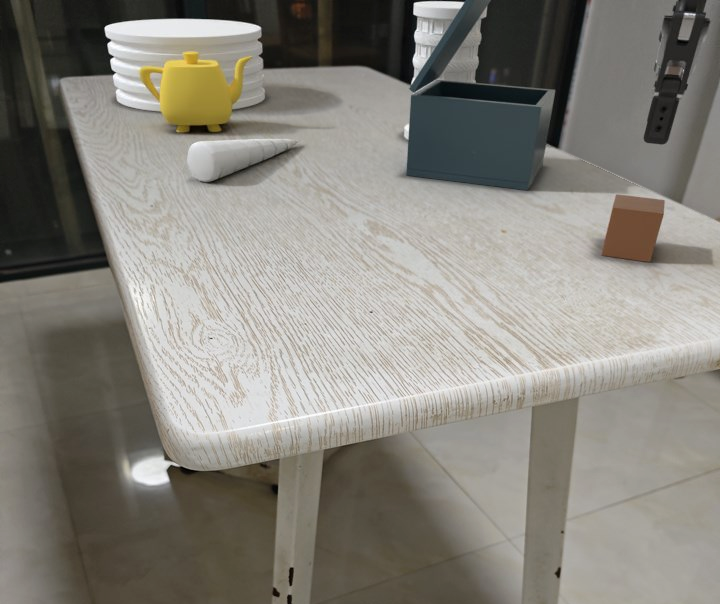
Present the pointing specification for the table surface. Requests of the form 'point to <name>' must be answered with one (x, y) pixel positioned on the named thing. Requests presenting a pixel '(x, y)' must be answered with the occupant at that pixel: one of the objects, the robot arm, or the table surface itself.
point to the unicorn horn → (231, 155)
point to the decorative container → (429, 33)
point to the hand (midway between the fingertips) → (655, 133)
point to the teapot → (195, 91)
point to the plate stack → (169, 41)
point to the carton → (633, 227)
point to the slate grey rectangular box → (478, 133)
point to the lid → (450, 43)
